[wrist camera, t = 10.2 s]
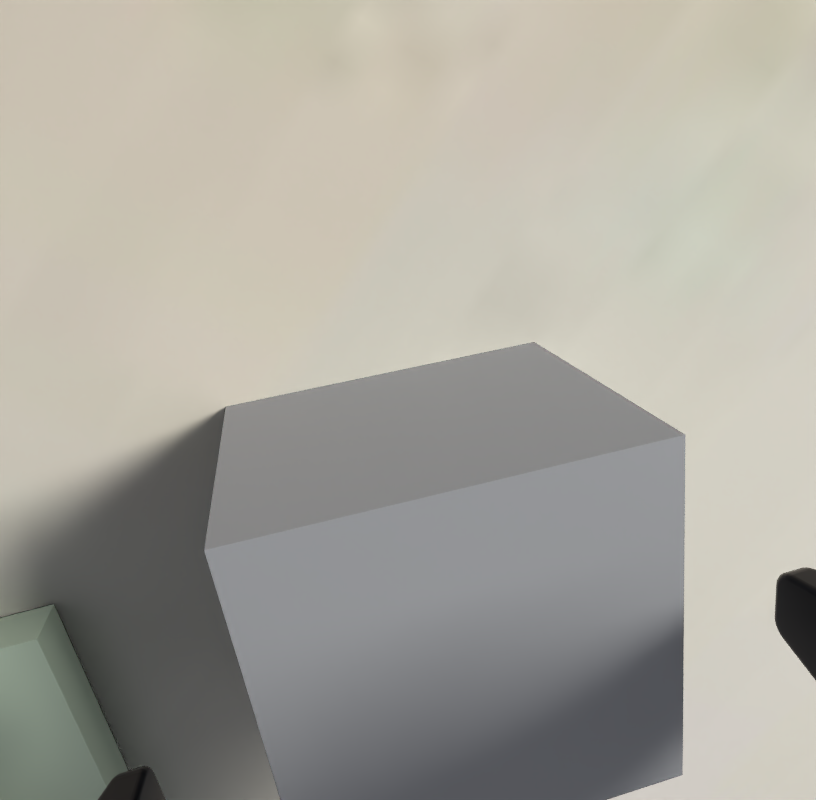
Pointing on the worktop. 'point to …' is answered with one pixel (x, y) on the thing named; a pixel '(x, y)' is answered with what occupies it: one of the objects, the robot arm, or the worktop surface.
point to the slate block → (456, 582)
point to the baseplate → (49, 715)
